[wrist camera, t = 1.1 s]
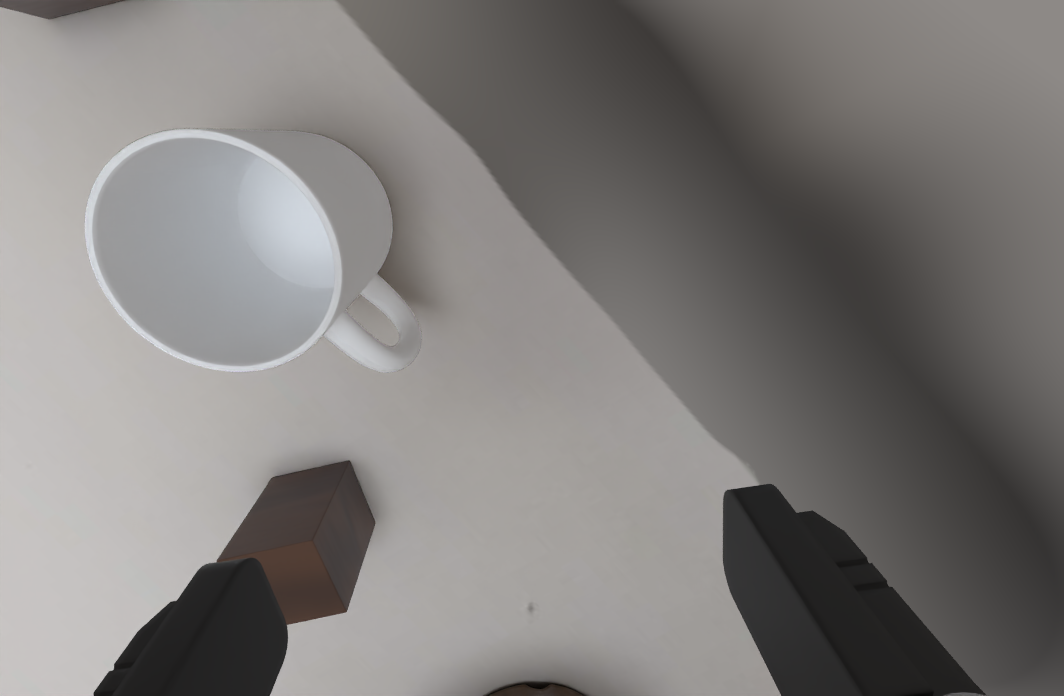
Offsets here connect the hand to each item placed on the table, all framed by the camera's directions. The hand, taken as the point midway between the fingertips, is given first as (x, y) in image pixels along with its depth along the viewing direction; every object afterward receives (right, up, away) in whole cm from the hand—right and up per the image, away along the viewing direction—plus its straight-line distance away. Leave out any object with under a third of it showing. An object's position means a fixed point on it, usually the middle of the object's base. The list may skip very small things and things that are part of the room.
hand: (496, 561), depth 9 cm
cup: (-9, +9, +19) cm, 23 cm away
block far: (-13, -6, +25) cm, 28 cm away
